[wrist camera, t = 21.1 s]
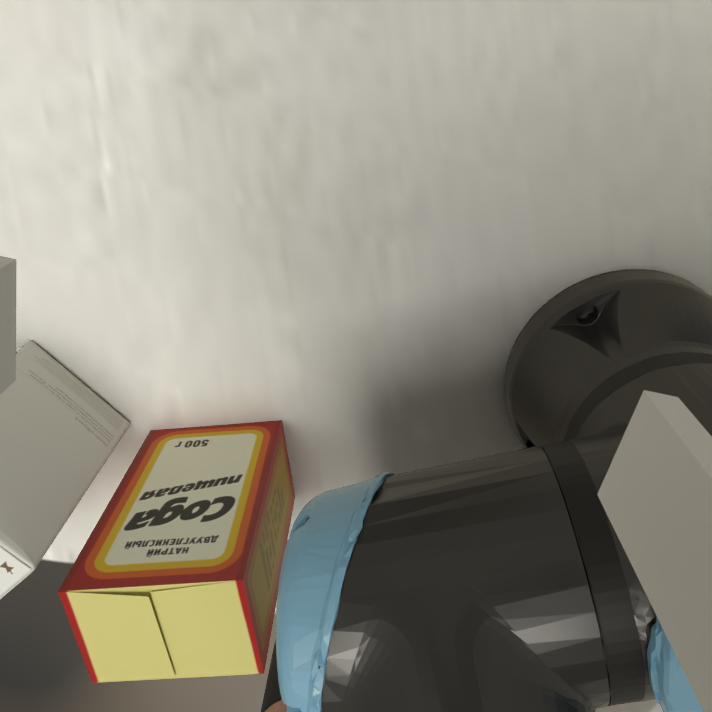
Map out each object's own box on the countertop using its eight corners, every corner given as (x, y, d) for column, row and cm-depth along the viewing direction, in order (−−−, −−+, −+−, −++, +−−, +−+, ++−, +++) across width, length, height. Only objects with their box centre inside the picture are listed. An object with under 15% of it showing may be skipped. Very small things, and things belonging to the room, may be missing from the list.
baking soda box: (281, 420, 48) (241, 585, 33) (294, 496, 51) (262, 679, 36) (150, 430, 49) (54, 597, 34) (170, 505, 51) (89, 688, 37)
